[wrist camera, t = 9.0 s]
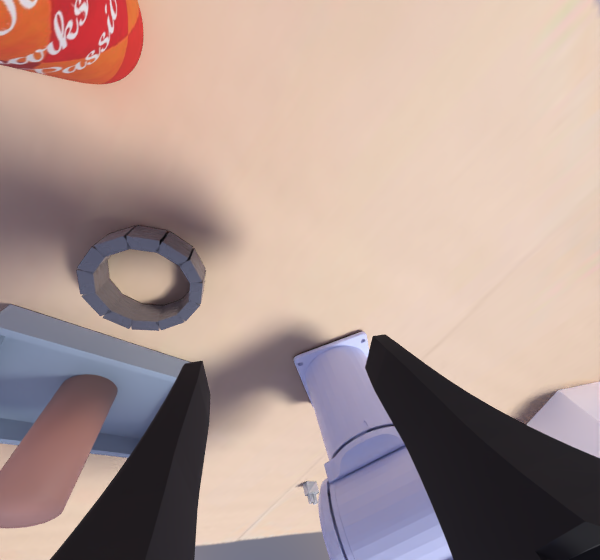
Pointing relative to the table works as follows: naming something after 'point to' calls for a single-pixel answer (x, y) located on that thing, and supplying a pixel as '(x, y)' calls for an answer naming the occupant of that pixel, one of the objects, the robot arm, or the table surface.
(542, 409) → the milk
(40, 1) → the paper cup
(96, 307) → the sleeve
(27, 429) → the tray
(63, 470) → the peg
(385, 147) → the table surface
